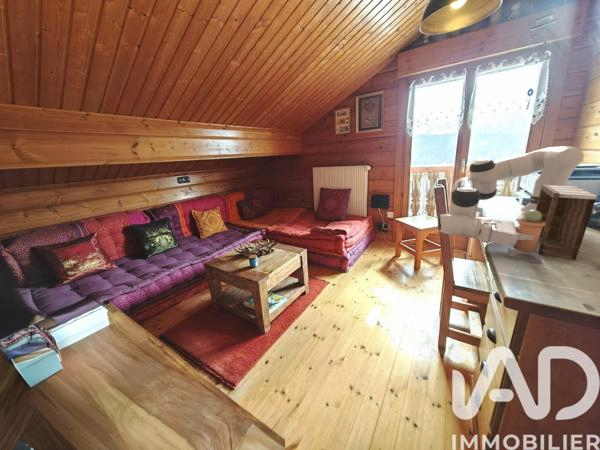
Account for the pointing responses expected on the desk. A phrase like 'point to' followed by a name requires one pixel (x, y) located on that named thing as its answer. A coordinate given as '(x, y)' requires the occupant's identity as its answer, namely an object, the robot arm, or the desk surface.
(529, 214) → the terracotta pot
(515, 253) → the slate tile
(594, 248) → the desk surface
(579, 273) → the desk surface
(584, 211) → the slatted wooden crate
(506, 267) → the desk surface
